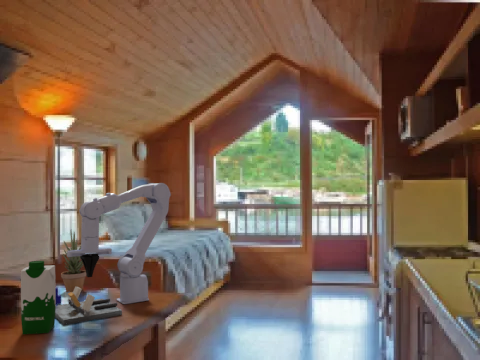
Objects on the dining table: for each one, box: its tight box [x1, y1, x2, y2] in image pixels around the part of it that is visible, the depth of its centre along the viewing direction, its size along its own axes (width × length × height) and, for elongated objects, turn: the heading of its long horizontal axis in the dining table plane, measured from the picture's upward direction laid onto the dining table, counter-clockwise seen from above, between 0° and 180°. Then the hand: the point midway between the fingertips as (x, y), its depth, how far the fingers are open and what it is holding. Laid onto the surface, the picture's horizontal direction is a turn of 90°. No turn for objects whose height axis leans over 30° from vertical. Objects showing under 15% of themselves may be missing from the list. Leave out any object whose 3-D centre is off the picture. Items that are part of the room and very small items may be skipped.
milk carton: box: [20, 260, 56, 335], centre depth 134 cm, size 9×9×20 cm
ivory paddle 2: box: [82, 293, 96, 311], centre depth 145 cm, size 1×4×4 cm, turn 35°
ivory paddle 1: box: [72, 286, 83, 299], centre depth 157 cm, size 1×4×4 cm, turn 35°
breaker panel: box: [55, 298, 123, 326], centre depth 152 cm, size 18×20×3 cm
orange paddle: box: [67, 292, 81, 307], centre depth 150 cm, size 1×4×4 cm, turn 35°
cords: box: [92, 298, 118, 309], centre depth 155 cm, size 8×8×1 cm
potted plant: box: [60, 230, 87, 293], centre depth 184 cm, size 10×10×25 cm
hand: (89, 276), depth 159 cm, fingers closed
